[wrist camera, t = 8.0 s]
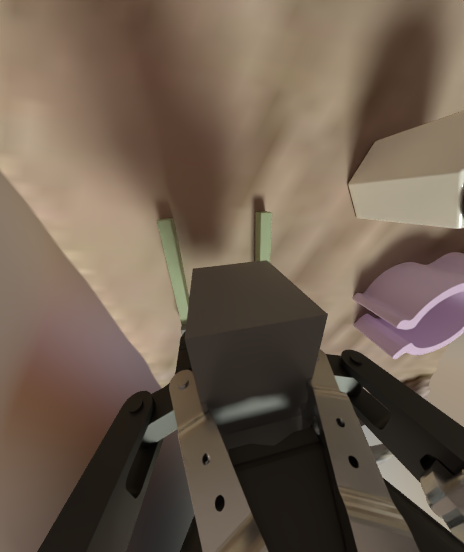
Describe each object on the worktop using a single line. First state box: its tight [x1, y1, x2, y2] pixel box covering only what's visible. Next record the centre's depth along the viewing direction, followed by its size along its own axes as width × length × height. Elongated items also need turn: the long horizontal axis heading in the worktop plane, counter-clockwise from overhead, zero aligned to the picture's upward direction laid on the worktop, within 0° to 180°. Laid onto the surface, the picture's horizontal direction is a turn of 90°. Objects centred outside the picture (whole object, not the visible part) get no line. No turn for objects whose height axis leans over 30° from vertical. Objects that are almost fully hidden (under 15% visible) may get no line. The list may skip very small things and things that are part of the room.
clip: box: [353, 252, 464, 359], centre depth 25 cm, size 20×12×7 cm, turn 111°
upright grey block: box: [185, 260, 328, 455], centre depth 9 cm, size 9×5×8 cm, turn 3°
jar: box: [348, 111, 464, 229], centre depth 14 cm, size 9×8×12 cm
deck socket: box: [157, 211, 272, 335], centre depth 19 cm, size 14×11×3 cm
